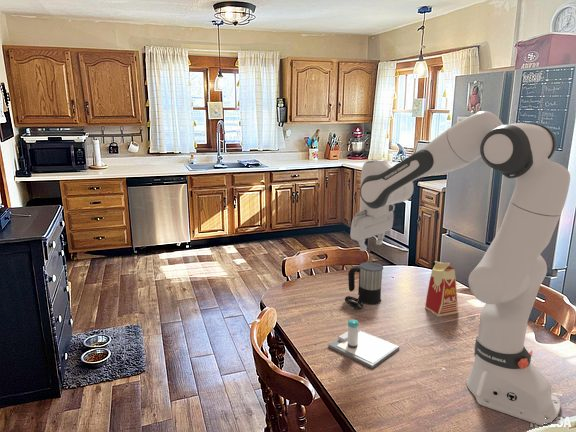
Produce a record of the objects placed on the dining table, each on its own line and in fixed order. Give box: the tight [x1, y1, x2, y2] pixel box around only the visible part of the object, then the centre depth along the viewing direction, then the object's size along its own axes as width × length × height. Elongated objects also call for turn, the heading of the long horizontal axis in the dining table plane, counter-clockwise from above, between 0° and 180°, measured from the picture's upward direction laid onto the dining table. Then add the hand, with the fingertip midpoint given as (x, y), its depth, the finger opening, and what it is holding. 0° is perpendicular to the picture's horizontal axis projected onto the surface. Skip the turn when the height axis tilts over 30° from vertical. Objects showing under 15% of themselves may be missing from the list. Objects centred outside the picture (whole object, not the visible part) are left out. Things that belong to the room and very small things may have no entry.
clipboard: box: [328, 328, 400, 369], centre depth 139 cm, size 17×15×2 cm
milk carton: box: [424, 260, 459, 318], centre depth 163 cm, size 9×9×20 cm
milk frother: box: [344, 261, 384, 310], centre depth 170 cm, size 14×16×15 cm
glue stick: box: [347, 319, 359, 349], centre depth 138 cm, size 3×3×8 cm
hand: (371, 247), depth 148 cm, fingers open, 8 cm apart
